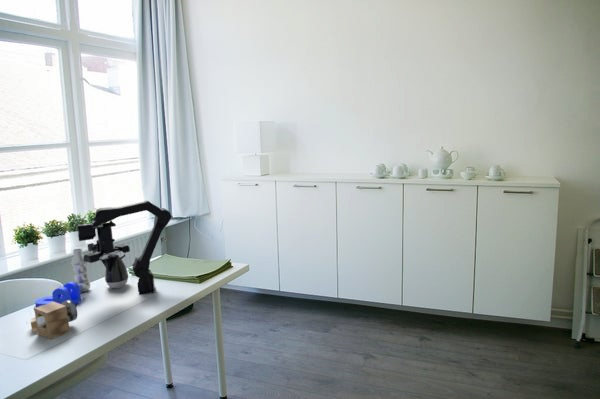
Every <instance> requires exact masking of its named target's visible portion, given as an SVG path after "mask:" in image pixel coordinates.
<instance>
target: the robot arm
mask: <svg viewBox="0 0 600 399" xmlns="http://www.w3.org/2000/svg"><path fill="white" fill-rule="evenodd" d="M146 211H147V212H149V213H150V214H152V215H153V216H154V221H153V227H152V229H151V232H150V234H149V237H148V239H147V241H146V243H145V245H144V248H143V250H142V253H141V255H140V256H139V257H135V258H134V260H133V263H132V264H131V265H132V266H131V267H132V271H133V274H134V276H135V277H137V280H138V281H137V284H136V285H137V292H138V295H145V294H153V293H155V291H156V289H157V288H156V286H155V277H154V276H155V275H154V273H153V272H152V270H151V269H150V265H151V264H150V263H151V258H152V256H153V254H154V251H155V249H156V247H157V244H158V241H159V239H160V237H161V235H162V232H163V231H164V229H165V228H166V227H167V225H168V224H169V223H170V221H171V219H172V213H171V212H170V211H169V210H168V209H166V208H165V207H164V208H163V207H162V208H160V207H158V205H156V204H153V203H151V201H149V200H144V201H140V202H135V203H131V204H128V205H127V204H126V205H123V206H122V205H121V206H118V207H117V206H116V207H115V206H114V207H109V206H108V207H99V208H98V209H96V210H95V212H94V218H93V220H92V221H91V223H87V224H86V223H85V224H77V237H78V242H83V241H90V240H94V238H96V237H97V239H96V241H95V244H94V243H93V242H92V243H88V244H87V249H88V250H87V251H88V252H89V253H86V254H83V255H84V257H83V258H84V261H85V262H87V263H92V264H93V263H97V262H99V261H101V263H102V264H103V265H104V268H105V270H106V269H107V271H108V272H109V273H110V272H111V271H112V268H113V266H114V263H115V261H116V259H117V257H120V255H118V253H120V252H122V253H124V254H126V253H129V252H131V251H130V250H131V249H130V248H131V247H130V246H129V245H127V244H123V243H122V244H118V245H115V246H114V242H115V241H116V240H115V238H113V230H112V227H116V226H117V225H116V222H113V221H114V220H115V219H116V218H119V217H122V216H123V217H124V216H128V215H132V214H137V213H141V212H146ZM96 232H97V233H96Z"/></svg>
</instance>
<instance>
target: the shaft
mask: <svg viewBox="0 0 600 399" xmlns="http://www.w3.org/2000/svg"><path fill="white" fill-rule="evenodd" d="M61 304H62V305H65V306H66V308H67V315H68V322H69V323H70V322H73V321H75V320H77V319H78V309H77V307H76V306H77V305H75V304H74V303H73V302H72V301H71V300H67V301H64V302H62V303H61ZM37 324H38V326H39V327H42V326H44V325H46V322H45V316H40V317H37Z"/></svg>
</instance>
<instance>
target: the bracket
mask: <svg viewBox="0 0 600 399" xmlns="http://www.w3.org/2000/svg"><path fill="white" fill-rule="evenodd" d="M81 293H82V292H80V287H79V285H78V284H77V283H75V281H69V282H67V283H64V284H63V286H59V287H57V288H55V289H54V290H52V295H50V296H45V297H41V298H39V299H37V300H35V303H34V304H35V308H36V307H39V306H42V305H45V304H48V303H51V302H56V303H59V304H61V303H62V302H64V301H67V300H71V301H72V302H73V303H74V304H75V306H77V304H79V303H81V302H82V295H81Z"/></svg>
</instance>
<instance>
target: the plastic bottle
mask: <svg viewBox="0 0 600 399" xmlns="http://www.w3.org/2000/svg"><path fill="white" fill-rule="evenodd" d="M72 252H73V253H72V254H73V256H72V258H71V260H70V262H71V266H72V269H73V275H74V282H75V283H77V284H78V285H79V287H80V293H83V292H87V291H89V290H90V289H91V282H90V279H89V274H88V262H85V261H84V258H83V257H84V255H85V254H83V253H84V252H83V249H82V248H74V249H73V250H72Z"/></svg>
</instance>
